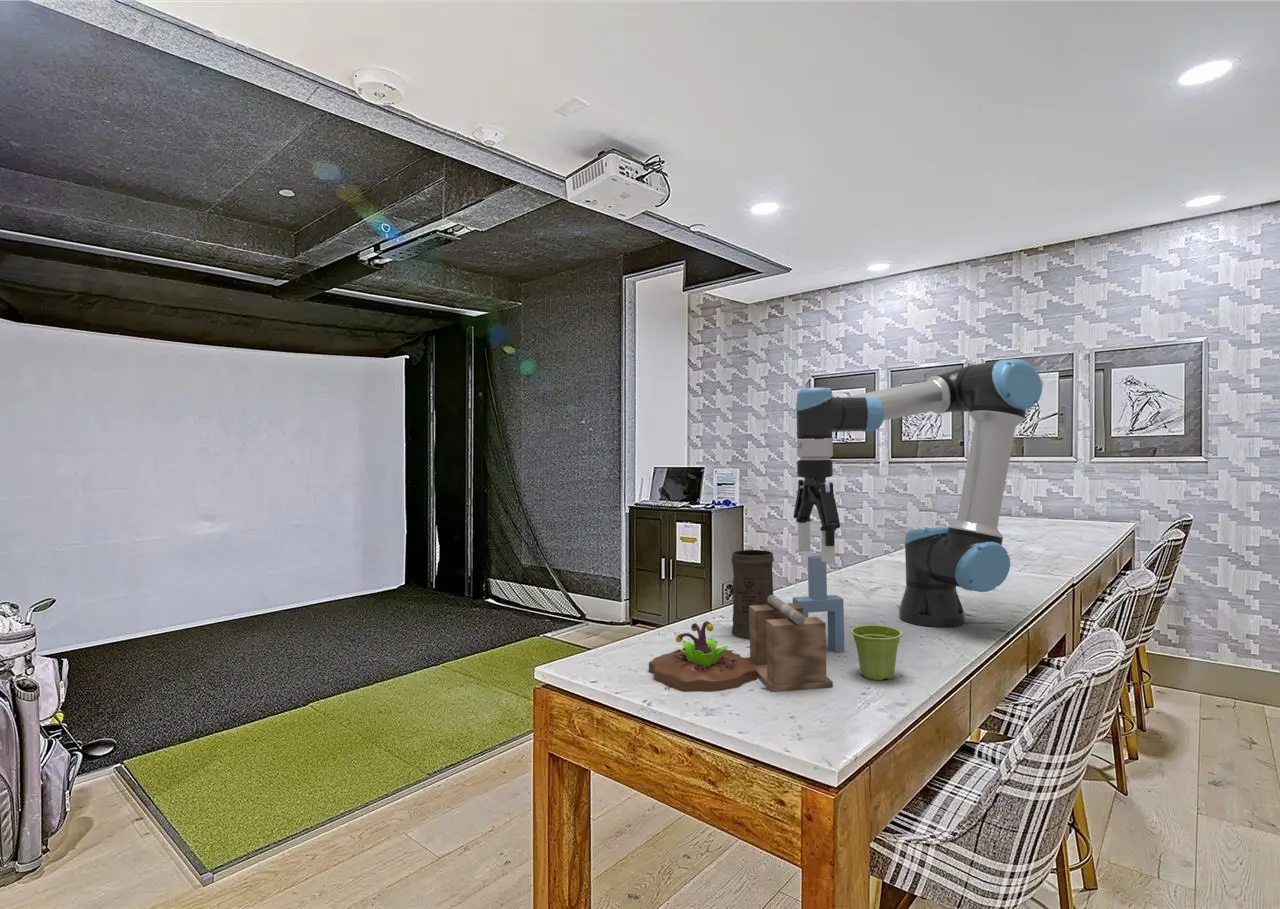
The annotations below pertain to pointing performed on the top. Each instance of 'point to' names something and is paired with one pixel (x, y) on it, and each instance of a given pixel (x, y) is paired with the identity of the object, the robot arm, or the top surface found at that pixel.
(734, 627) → the beer stein
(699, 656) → the plant
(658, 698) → the top surface
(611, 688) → the top surface
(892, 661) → the plant pot
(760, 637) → the stand
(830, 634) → the light blue forked piece
